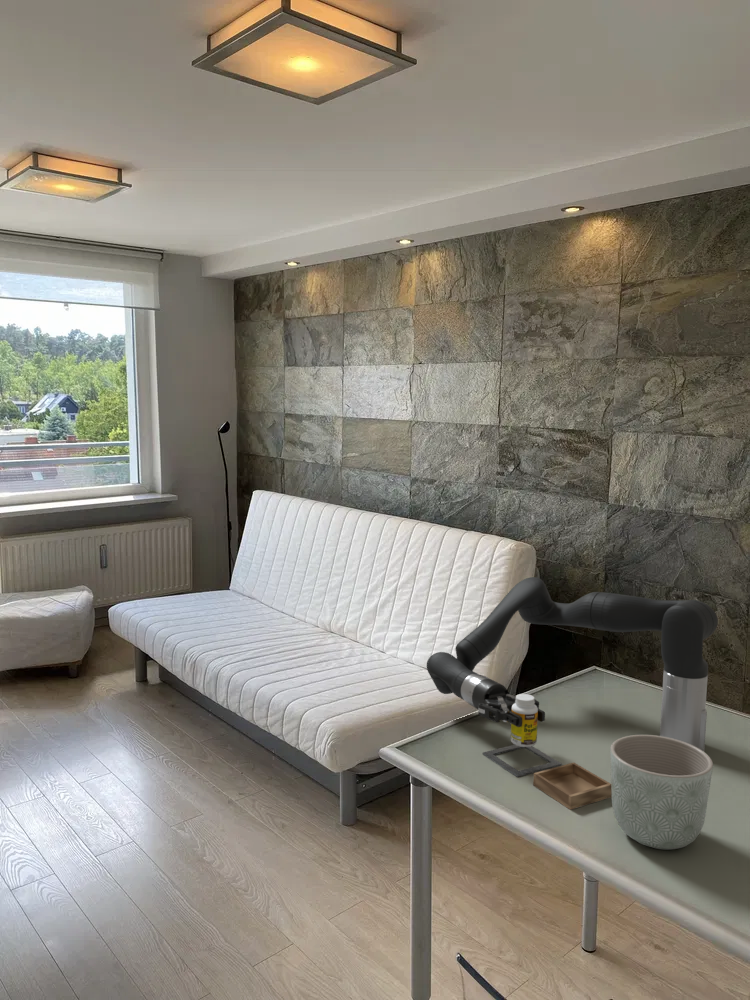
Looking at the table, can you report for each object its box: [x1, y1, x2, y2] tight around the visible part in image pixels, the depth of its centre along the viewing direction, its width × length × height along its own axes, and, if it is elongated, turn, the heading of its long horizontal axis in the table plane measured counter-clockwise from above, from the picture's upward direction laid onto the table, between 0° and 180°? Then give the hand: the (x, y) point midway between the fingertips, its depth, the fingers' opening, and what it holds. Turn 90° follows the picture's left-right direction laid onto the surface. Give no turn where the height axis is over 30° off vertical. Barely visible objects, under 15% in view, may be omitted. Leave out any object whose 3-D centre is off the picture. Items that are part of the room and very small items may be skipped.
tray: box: [532, 762, 612, 810], centre depth 152 cm, size 11×11×3 cm
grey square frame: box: [482, 744, 563, 778], centre depth 166 cm, size 12×12×1 cm
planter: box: [610, 734, 714, 851], centre depth 136 cm, size 17×17×15 cm
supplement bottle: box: [510, 693, 539, 747], centre depth 164 cm, size 6×6×10 cm
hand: (532, 719), depth 162 cm, fingers closed on supplement bottle, 5 cm apart
